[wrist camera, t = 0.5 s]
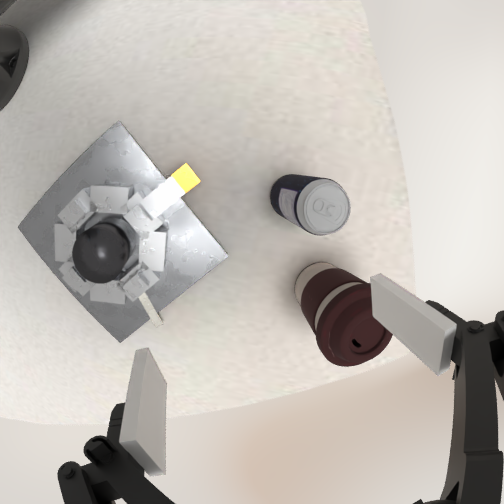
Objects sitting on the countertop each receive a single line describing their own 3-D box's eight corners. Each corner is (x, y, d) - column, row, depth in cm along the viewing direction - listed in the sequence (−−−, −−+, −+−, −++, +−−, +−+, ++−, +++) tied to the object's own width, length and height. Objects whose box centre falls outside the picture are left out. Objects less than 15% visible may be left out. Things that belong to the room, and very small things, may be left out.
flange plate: (21, 225, 33) (-10, 239, 26) (139, 106, 33) (126, 91, 25) (129, 347, 41) (120, 380, 34) (253, 249, 41) (268, 269, 33)
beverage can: (301, 223, 41) (341, 245, 30) (262, 209, 39) (290, 227, 28) (316, 183, 40) (362, 192, 28) (277, 167, 38) (312, 169, 27)
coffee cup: (345, 245, 43) (408, 282, 29) (349, 305, 46) (403, 356, 32) (279, 261, 42) (322, 310, 28) (289, 323, 45) (328, 386, 31)
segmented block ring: (45, 235, 34) (29, 243, 29) (158, 127, 33) (153, 121, 29) (113, 312, 38) (105, 329, 34) (229, 216, 38) (234, 223, 33)
